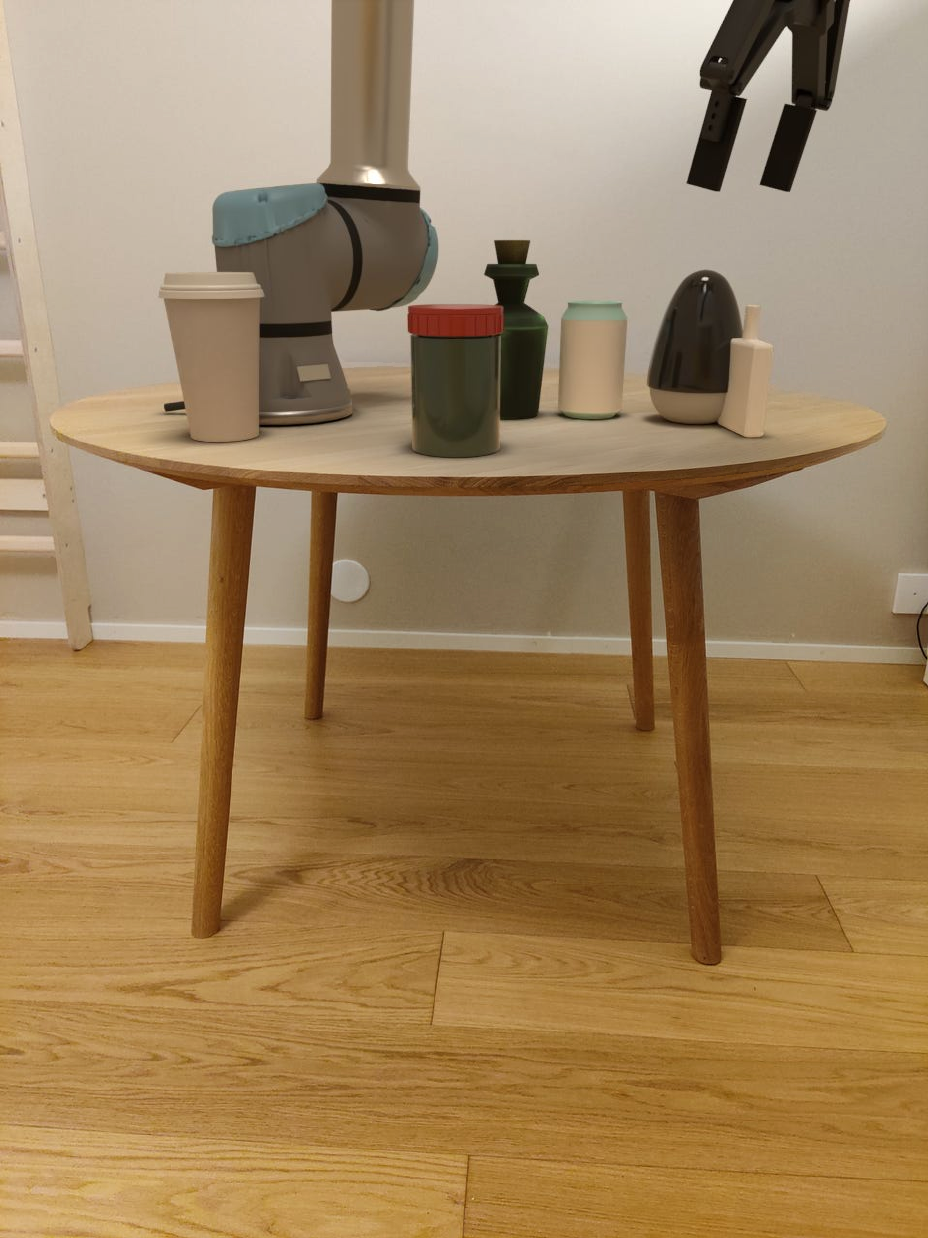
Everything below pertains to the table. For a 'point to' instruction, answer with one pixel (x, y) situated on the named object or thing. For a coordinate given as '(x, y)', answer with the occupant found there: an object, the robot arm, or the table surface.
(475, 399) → the jar
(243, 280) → the coffee cup
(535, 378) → the potion bottle
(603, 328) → the can
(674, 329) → the black and white egg
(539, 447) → the table surface
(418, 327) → the lid
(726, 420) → the perfume bottle
